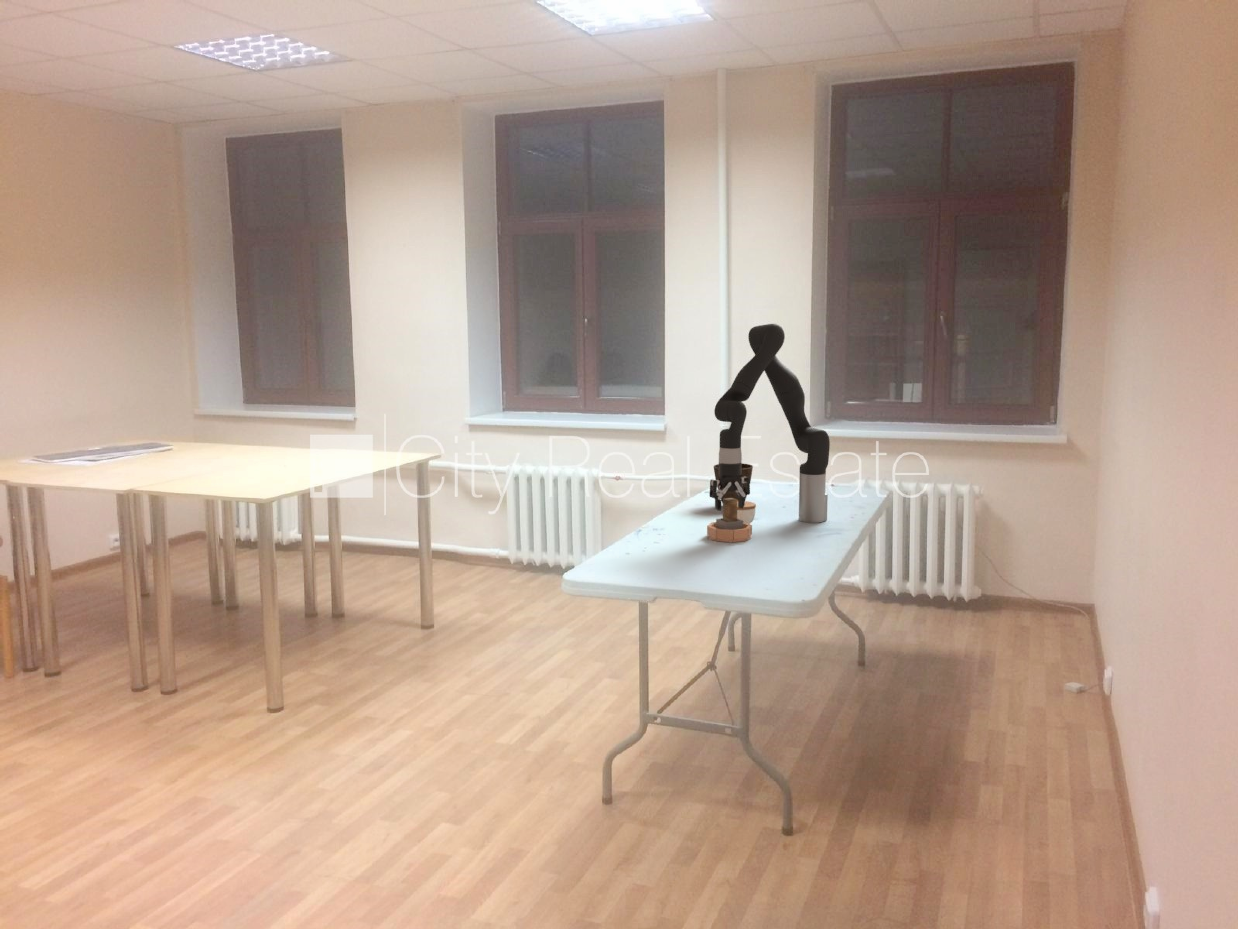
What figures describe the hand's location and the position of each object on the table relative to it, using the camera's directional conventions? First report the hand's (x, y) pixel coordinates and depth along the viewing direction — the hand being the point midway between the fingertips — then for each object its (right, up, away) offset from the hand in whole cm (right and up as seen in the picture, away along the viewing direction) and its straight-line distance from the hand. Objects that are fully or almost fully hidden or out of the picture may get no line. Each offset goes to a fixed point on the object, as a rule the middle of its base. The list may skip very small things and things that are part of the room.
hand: (729, 509), depth 322 cm
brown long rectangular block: (0, -9, +1) cm, 9 cm away
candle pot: (0, -10, +2) cm, 10 cm away
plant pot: (+7, -2, +52) cm, 52 cm away
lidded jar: (+6, -7, +20) cm, 22 cm away
